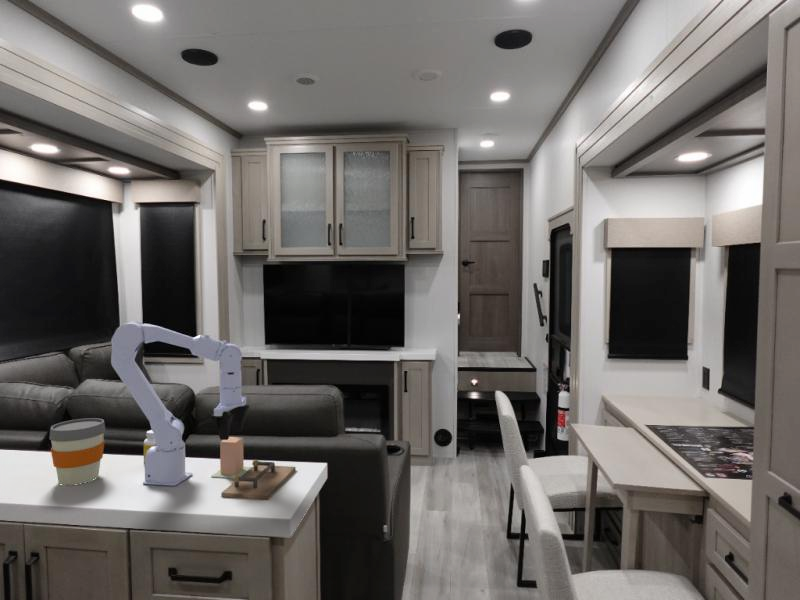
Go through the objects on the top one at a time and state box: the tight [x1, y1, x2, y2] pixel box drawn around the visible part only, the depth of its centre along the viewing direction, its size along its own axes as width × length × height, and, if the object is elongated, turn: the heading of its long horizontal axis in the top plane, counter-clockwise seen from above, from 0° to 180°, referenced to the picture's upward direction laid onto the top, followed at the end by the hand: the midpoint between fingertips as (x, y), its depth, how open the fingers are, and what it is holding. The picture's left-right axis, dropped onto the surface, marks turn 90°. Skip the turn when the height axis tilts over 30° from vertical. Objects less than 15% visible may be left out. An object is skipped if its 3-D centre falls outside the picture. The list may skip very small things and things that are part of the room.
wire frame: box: [220, 459, 296, 501], centre depth 126 cm, size 12×19×4 cm, turn 172°
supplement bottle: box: [143, 429, 156, 467], centre depth 139 cm, size 5×5×10 cm
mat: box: [210, 466, 253, 480], centre depth 133 cm, size 8×8×1 cm
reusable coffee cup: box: [48, 417, 106, 486], centre depth 128 cm, size 13×13×15 cm
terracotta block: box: [219, 436, 245, 475], centre depth 132 cm, size 4×4×9 cm
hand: (231, 435), depth 133 cm, fingers open, 7 cm apart
